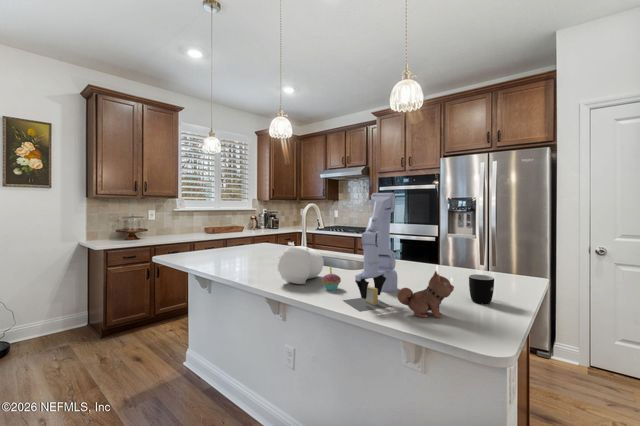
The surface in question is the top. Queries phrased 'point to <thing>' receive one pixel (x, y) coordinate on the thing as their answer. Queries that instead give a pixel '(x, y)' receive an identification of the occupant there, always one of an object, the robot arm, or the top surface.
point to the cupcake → (331, 280)
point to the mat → (365, 304)
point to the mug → (481, 288)
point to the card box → (372, 295)
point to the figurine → (427, 296)
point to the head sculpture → (300, 264)
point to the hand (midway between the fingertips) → (370, 296)
